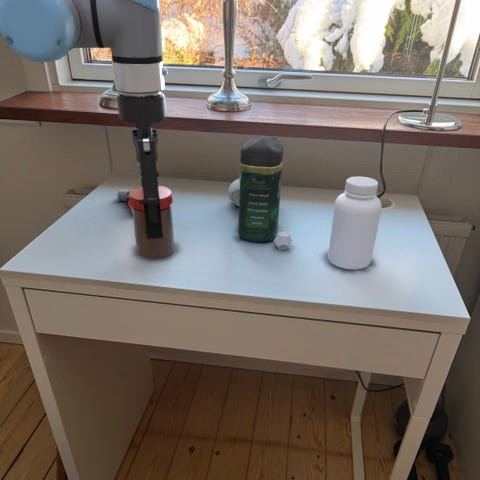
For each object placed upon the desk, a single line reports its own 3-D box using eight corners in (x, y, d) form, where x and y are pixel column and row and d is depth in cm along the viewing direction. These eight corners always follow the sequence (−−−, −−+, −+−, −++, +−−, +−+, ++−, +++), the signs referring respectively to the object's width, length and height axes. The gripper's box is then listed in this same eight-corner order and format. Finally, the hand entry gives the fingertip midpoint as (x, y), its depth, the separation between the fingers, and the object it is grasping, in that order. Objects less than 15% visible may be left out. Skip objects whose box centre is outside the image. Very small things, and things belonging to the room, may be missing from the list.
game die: (289, 253, 88) (291, 239, 87) (270, 250, 89) (271, 236, 88) (293, 245, 91) (295, 231, 89) (275, 242, 92) (276, 228, 90)
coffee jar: (274, 245, 91) (281, 148, 80) (234, 241, 92) (236, 144, 81) (280, 225, 99) (287, 134, 88) (243, 222, 100) (245, 131, 89)
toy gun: (117, 197, 110) (114, 177, 107) (167, 200, 109) (166, 179, 106) (104, 213, 102) (100, 192, 99) (158, 216, 101) (156, 195, 98)
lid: (174, 209, 81) (173, 199, 80) (130, 212, 79) (128, 201, 78) (170, 194, 87) (170, 184, 86) (129, 196, 85) (128, 186, 84)
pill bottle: (343, 246, 91) (356, 170, 82) (378, 261, 87) (396, 182, 78) (318, 259, 87) (329, 180, 78) (354, 275, 82) (370, 193, 73)
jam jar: (137, 260, 85) (130, 204, 79) (136, 243, 91) (130, 190, 84) (175, 257, 86) (172, 202, 80) (172, 240, 92) (169, 188, 86)
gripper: (170, 107, 64) (179, 251, 77) (160, 79, 82) (169, 200, 95) (115, 108, 63) (133, 254, 76) (117, 80, 81) (131, 202, 94)
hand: (153, 224), depth 85 cm, fingers open, 10 cm apart
